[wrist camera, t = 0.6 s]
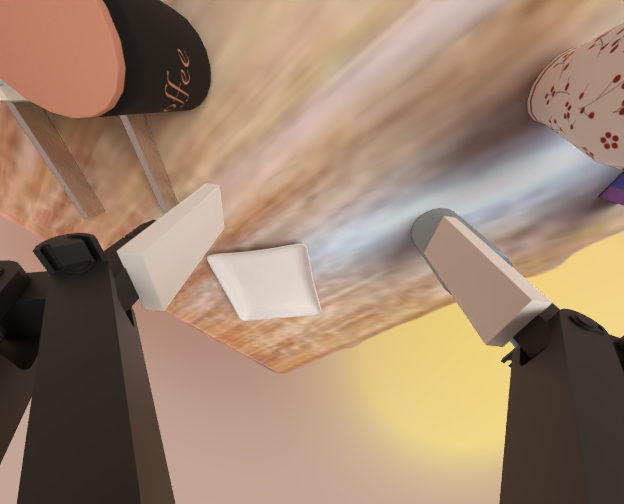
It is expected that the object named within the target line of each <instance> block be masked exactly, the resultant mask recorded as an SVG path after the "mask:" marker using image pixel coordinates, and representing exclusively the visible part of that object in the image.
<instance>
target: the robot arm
mask: <svg viewBox="0 0 624 504" xmlns="http://www.w3.org/2000/svg"><path fill="white" fill-rule="evenodd" d="M223 229H224V220H223V211H222V201H221V192H220V185H215V184H208V183H205V184H204V185H203V186H201V187H200V188H199V189H197V190H196V191H195V192H194V193H192V194H191V195H190V196H188V197H187V198H186V199H184V200H183V201H182V202H180V203H179V204H178V205H176V206H175V207H174V208H172V209H171V210H170V211H169V212H167V213H166V214H165V215H163V216H162V217H161V218H159V219H158V220H152V221H149V222H147V223H144V224H142V225H140V226H139V227H137V228H136V229H134V230H133V231H132V232H130V233H129V234H127V235H126V236H125V238H122V239H120V240H119V241H118V242H116V243H115V244H113V245H112V246H111V247H109V248H108V249H106V250H105V251H104V252H103V250H102V248H101V246H100V244H99V242H98V240H97V239H96V237H95V236H94V235H91V234H87V233H74V234H66V235H61V236H57V237H54V238H51V239H49V240H46V241H44V242H42V243H40V244H39V245H37V246H36V247H35V249H34V250H33V252H34V254H35V255H36V256H37V257H38V259H39V260H40V262H41V263H42V264H43V266H44V267H45V269H46V270H47V271H45V272H33V273H26V272H25V271H24V270H23V268H22V267H21V266H20V265H19V264H18V263H17V262H14V261H0V464H1V461H2V459H3V457H4V455H5V453H6V451H7V448H8V446H9V444H10V442H11V440H12V438H13V436H14V434H15V431H16V429H17V427H18V425H19V423H20V420H21V418H22V416H23V414H24V412H25V410H26V408H27V405H28V403H29V401H30V399H31V397H32V401H31V407H30V414H29V421H28V428H27V435H26V442H25V449H24V457H23V464H22V471H21V478H20V485H19V492H18V499H17V504H175V500H174V495H173V491H172V486H171V482H170V476H169V472H168V468H167V462H166V459H165V453H164V449H163V444H162V440H161V435H160V430H159V425H158V421H157V417H156V411H155V407H154V402H153V397H152V392H151V388H150V383H149V378H148V374H147V369H146V364H145V360H144V356H143V351H142V346H141V342H140V336H139V332H138V327H137V323H136V318H135V313H134V311H133V309H132V305H133V304H134V303H135V302H136V301H137V300H138V299H139V300H140V303H141V305H142V307H143V309H146V310H156V311H165V309H166V308H167V307H168V305H169V304H170V302H171V301H172V300H173V298H174V297H175V296H176V294H177V293H178V291H179V290H180V289H181V287H182V286H183V285H184V283H185V282H186V280H187V279H188V278H189V276H190V275H191V273H192V272H193V271H194V269H195V268H196V267H197V265H198V264H199V262H200V261H201V260H202V258H203V257H204V255H205V254H206V253H207V251H208V250H209V249H210V247H211V246H212V244H213V243H214V242H215V240H216V239H217V237H218V236H219V235H220V233H221V232H222V231H223ZM424 254H425V256H426V257H427V259H428V260H429V262H430V263H431V265H432V266H433V267H434V269H435V270H436V272H437V273H438V275H439V276H440V278H441V279H442V281H443V282H444V284H445V285H446V287H447V288H448V290H449V291H450V293H451V294H452V296H453V297H454V299H455V300H456V302H457V303H458V305H459V306H460V307H461V309H462V310H463V312H464V313H465V315H466V316H467V318H468V319H469V321H470V322H471V324H472V325H473V327H474V328H475V330H476V331H477V333H478V334H479V336H480V337H481V339H482V340H483V342H484V343H485V344H486V345H490V346H500V347H503V346H504V345H506V344H507V343H508V342H509V341H510V340H511V339H512V338H514V339H515V341H516V342H517V343H518V344H519V345H518V346H517V347H516V348H514V349H513V350H512V351H511V352H510V353H509V354H507V355H506V356H505V357H504V358H503V359H502V360H501V362H503V363H505V362H506V361H507V360H512V363H511V364H510V365H509V367H511V378H510V389H509V400H508V412H507V423H506V424H507V425H506V436H505V447H504V458H503V471H502V482H501V493H500V504H624V336H623V337H621V338H618V337H615V336H612V335H609V334H608V333H607V331H606V330H605V329H604V328H603V327H602V326H601V325H599V324H598V323H597V322H595V321H594V320H592V319H591V318H589V317H587V316H585V315H583V314H581V313H579V312H576V311H573V310H569V309H561V310H560V309H559V308H557V307H556V306H555V305H554V304H553V303H552V302H551V301H550V300H549V299H548V298H547V297H546V296H545V295H543V294H542V293H541V292H540V291H539V290H538V289H537V288H535V287H534V286H533V285H532V284H531V283H530V282H529V281H528V280H526V279H525V278H524V277H523V276H522V275H521V274H520V273H518V272H517V271H516V270H515V269H514V268H513V267H512V266H510V265H509V264H508V263H507V262H506V261H505V260H504V259H503V258H501V257H500V256H499V255H498V254H497V253H496V252H495V251H493V250H492V249H491V248H490V247H489V246H488V245H487V244H485V243H484V242H483V241H482V240H481V239H480V238H479V237H477V236H476V235H475V234H474V233H473V232H472V231H471V230H469V229H468V228H467V227H466V226H465V225H464V224H463V223H461V222H460V221H459V220H458V219H457V218H455V217H448V216H443V218H442V220H441V222H440V224H439V226H438V227H437V229H436V231H435V233H434V235H433V237H432V239H431V241H430V243H429V244H428V246H427V248H426V250H425V252H424Z"/></svg>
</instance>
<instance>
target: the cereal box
mask: <svg viewBox="0 0 624 504" xmlns="http://www.w3.org/2000/svg"><path fill="white" fill-rule="evenodd" d="M598 197H601V198H603V199H606V200H609V201H612V202H615V203H618V204H621V205H624V172H623V173H622V174H621V175H620V176H619V177H617V178H616V179H615V180H614V181H613V182H612V183H611V184H610V185H609V186H608V187H607V188H606V189H605V190H604V191H603V192H602V193H601V194H600V195H599V196H598Z"/></svg>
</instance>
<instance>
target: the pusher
mask: <svg viewBox="0 0 624 504" xmlns="http://www.w3.org/2000/svg"><path fill="white" fill-rule="evenodd" d="M0 102H31V101H29V100H27V99H25V98H24V97H23V96H22V95H20V94H19V93H18V92H16V91H15V90H14V89H13V88H11V87H10V86H0Z"/></svg>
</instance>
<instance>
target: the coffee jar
mask: <svg viewBox="0 0 624 504" xmlns="http://www.w3.org/2000/svg"><path fill="white" fill-rule="evenodd" d="M0 79H1V80H3V81H4V82H5V83H6V84H8V85H9V86H10V87H11V88H13V89H14V90H15V91H16V92H18V93H19V94H20V95H22V96H23V97H24V98H25V99H27V100H29V101H31V102H33V103H34V104H36V105H38V106H40V107H42V108H44V109H46V110H48V111H49V112H52V113H55V114H59V115H63V116H67V117H70V118H74V119H77V118H90V117H97V116H99V117H106V116H119V115H132V114H145V113H158V112H171V111H184V110H191V109H193V108H195V107H197V106H199V105H200V104H201V103H202V101H203V100H204V99H205V97H206V96H207V94H208V90H209V87H210V83H211V71H210V64H209V60H208V56H207V52H206V49H205V47H204V45H203V43H202V41H201V39H200V37H199V35H198V33H197V32H196V31H195V29H194V28H193V27H192V26H191V24H190V23H189V22H188V21H187V19H186V18H184V17H183V16H182V15H180V14H179V13H178V12H176V11H175V10H174V9H172V8H171V7H169V6H168V5H166V4H165V3H163V2H161V1H160V0H0Z"/></svg>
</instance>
